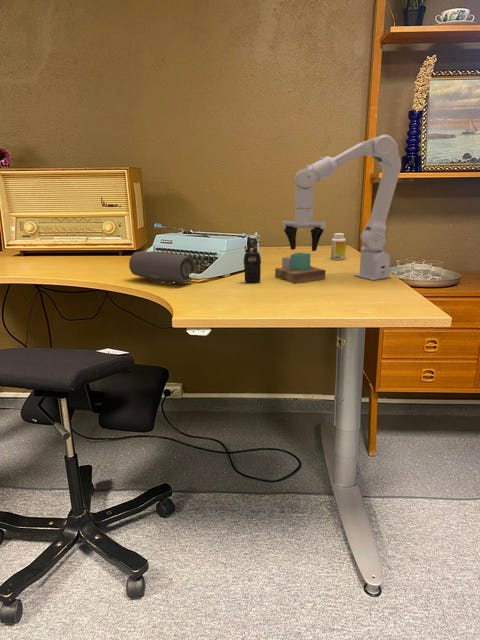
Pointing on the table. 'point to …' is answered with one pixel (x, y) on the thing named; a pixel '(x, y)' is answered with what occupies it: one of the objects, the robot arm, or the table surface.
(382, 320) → the table surface
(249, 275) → the two-way radio
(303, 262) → the teal cube
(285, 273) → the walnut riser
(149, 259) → the bluetooth speaker
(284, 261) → the steel cube
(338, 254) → the supplement bottle
